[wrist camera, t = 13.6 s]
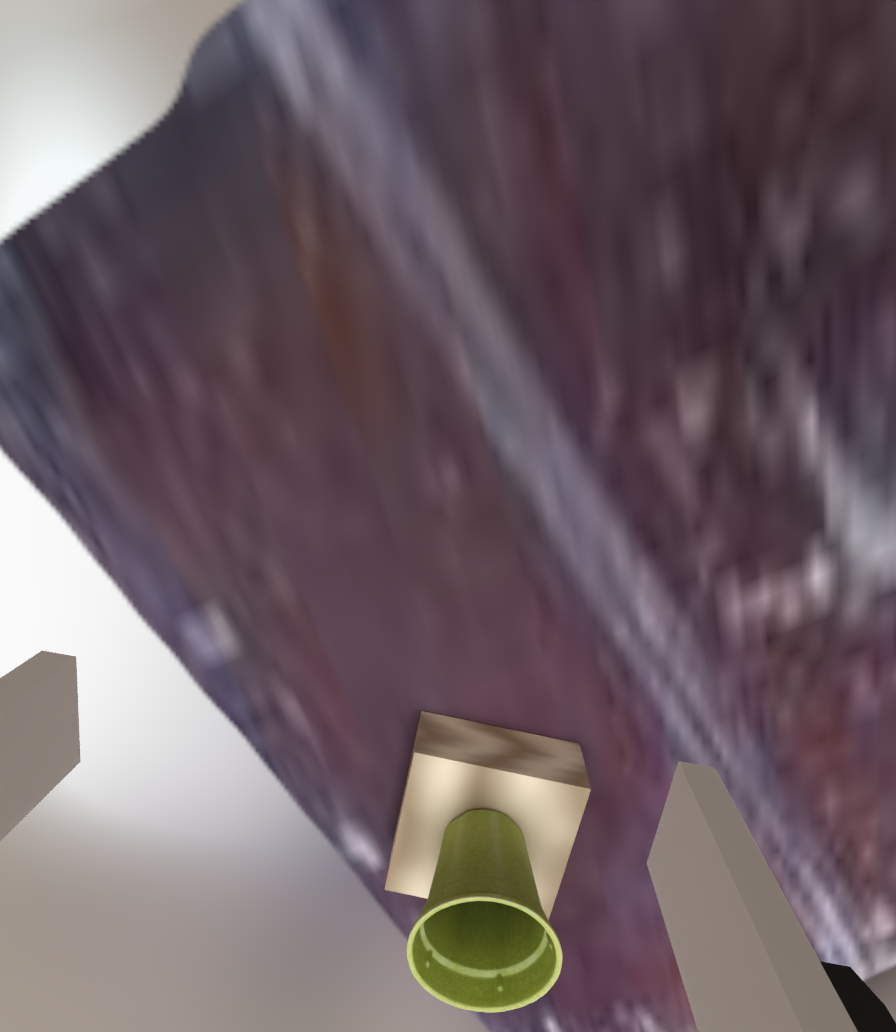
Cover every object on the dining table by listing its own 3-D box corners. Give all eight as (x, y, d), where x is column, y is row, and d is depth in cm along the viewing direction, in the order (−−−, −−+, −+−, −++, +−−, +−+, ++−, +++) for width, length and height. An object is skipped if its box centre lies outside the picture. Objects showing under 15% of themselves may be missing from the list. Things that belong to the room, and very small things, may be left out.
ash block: (579, 743, 46) (591, 789, 41) (540, 868, 50) (547, 923, 45) (421, 710, 46) (414, 752, 41) (394, 837, 50) (384, 889, 45)
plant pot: (541, 894, 44) (555, 1020, 36) (420, 885, 44) (405, 1007, 36) (551, 793, 41) (569, 904, 33) (422, 784, 42) (407, 891, 34)
